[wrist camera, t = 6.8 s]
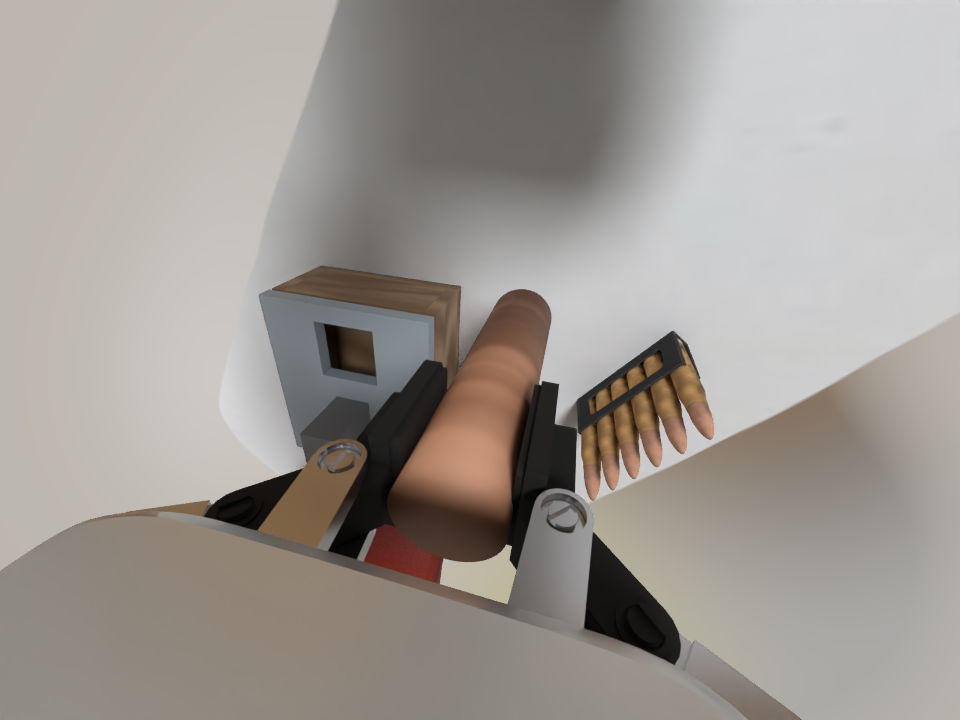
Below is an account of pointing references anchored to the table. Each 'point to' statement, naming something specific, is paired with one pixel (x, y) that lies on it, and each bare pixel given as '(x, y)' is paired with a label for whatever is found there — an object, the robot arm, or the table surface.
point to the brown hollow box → (385, 292)
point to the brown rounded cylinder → (475, 439)
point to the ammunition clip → (641, 411)
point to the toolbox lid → (332, 392)
